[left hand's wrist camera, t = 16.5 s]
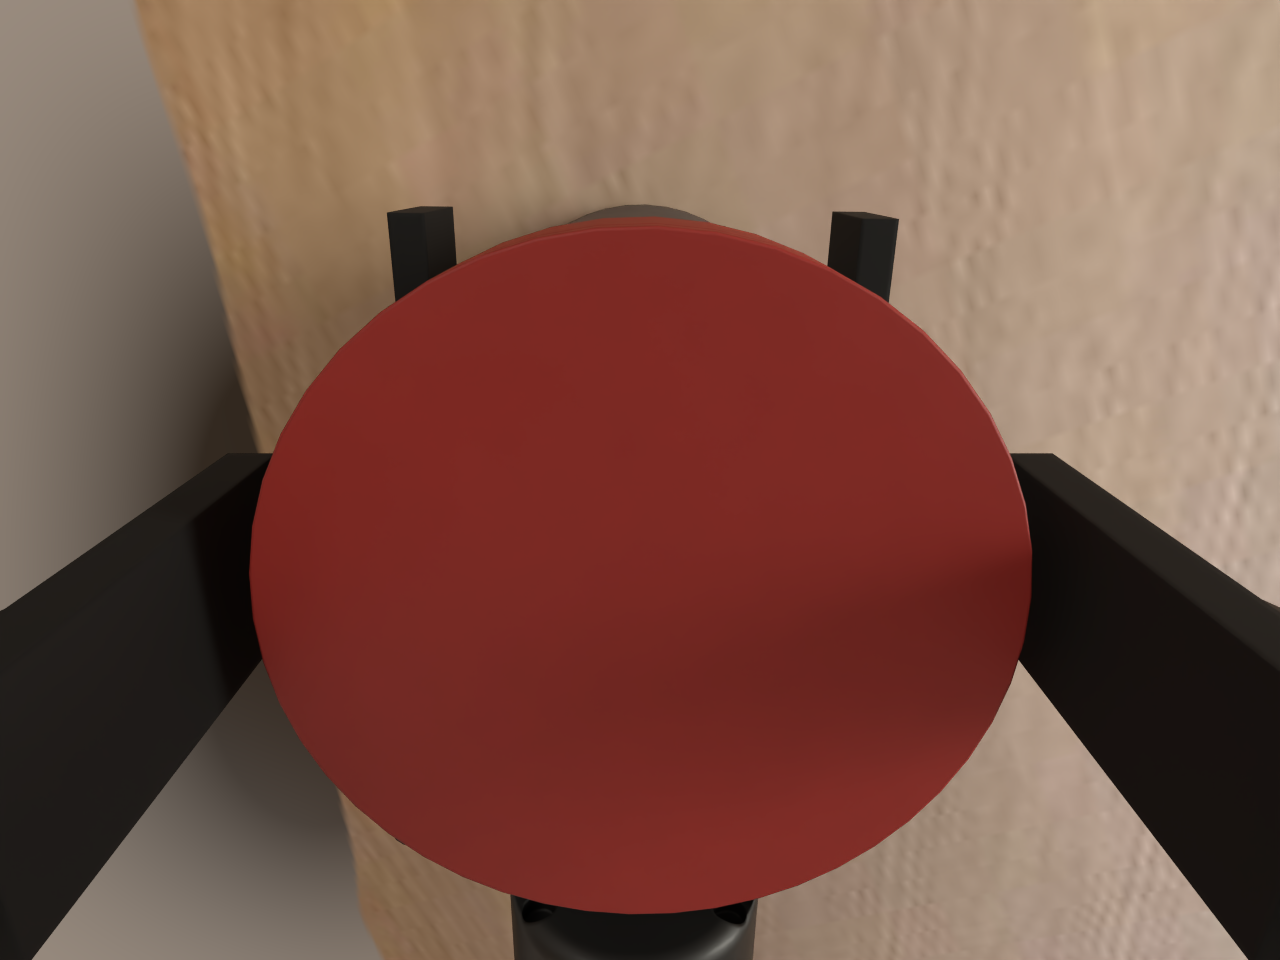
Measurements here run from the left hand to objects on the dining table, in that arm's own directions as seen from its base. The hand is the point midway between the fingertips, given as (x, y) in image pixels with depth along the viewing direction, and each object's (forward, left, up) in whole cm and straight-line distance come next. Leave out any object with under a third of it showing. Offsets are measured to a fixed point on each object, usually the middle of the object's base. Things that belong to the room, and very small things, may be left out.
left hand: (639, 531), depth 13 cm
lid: (0, 0, +3) cm, 3 cm away
